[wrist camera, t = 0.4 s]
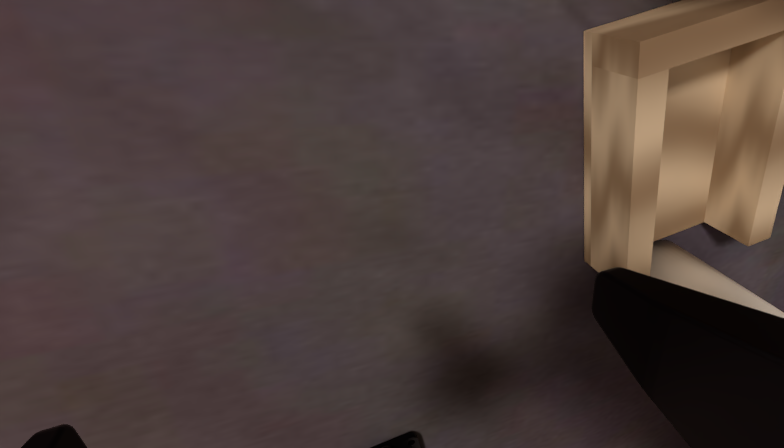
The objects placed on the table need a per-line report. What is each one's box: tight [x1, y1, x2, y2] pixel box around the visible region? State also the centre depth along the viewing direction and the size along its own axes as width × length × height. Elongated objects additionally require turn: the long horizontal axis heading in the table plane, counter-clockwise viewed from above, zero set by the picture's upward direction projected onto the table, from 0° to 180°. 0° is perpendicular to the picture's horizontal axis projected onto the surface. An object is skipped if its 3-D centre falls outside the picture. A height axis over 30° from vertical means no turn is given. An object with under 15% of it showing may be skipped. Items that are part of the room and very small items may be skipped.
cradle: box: [584, 0, 784, 276], centre depth 24 cm, size 14×10×4 cm
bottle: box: [650, 240, 784, 318], centre depth 26 cm, size 5×5×12 cm
